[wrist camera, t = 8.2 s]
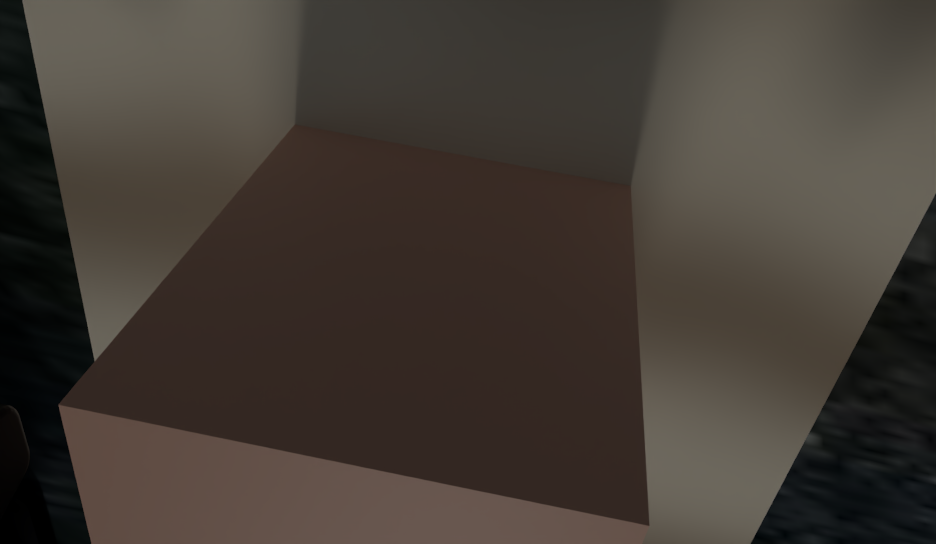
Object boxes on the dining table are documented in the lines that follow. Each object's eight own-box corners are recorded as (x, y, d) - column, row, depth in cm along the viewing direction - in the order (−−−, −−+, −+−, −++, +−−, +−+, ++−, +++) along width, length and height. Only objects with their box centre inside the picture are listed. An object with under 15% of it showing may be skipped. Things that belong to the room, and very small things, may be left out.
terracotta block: (562, 428, 14) (538, 795, 9) (294, 375, 14) (129, 703, 9) (630, 186, 11) (650, 525, 6) (294, 124, 11) (60, 405, 7)
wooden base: (706, 505, 18) (719, 602, 16) (171, 399, 19) (118, 478, 17) (983, -99, 11) (1071, -65, 9) (88, -238, 11) (-25, -236, 9)
